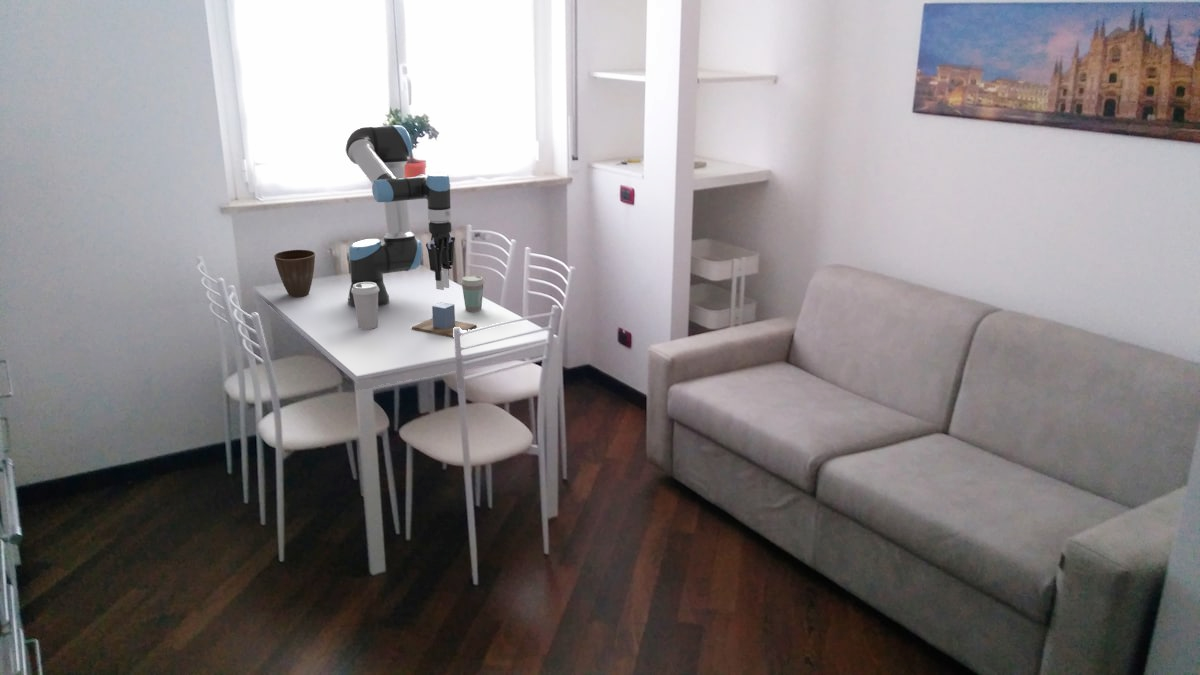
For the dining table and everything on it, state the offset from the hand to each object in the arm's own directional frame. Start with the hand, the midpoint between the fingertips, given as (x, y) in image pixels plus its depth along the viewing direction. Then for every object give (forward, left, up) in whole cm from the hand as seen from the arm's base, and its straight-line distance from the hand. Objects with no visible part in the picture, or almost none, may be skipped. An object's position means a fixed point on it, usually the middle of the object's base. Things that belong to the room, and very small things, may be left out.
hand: (442, 288), depth 315 cm
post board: (0, 0, -14) cm, 14 cm away
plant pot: (-73, +4, -15) cm, 75 cm away
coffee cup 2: (-4, +23, -15) cm, 28 cm away
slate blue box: (0, 0, -14) cm, 14 cm away
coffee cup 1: (-24, -12, -15) cm, 31 cm away
